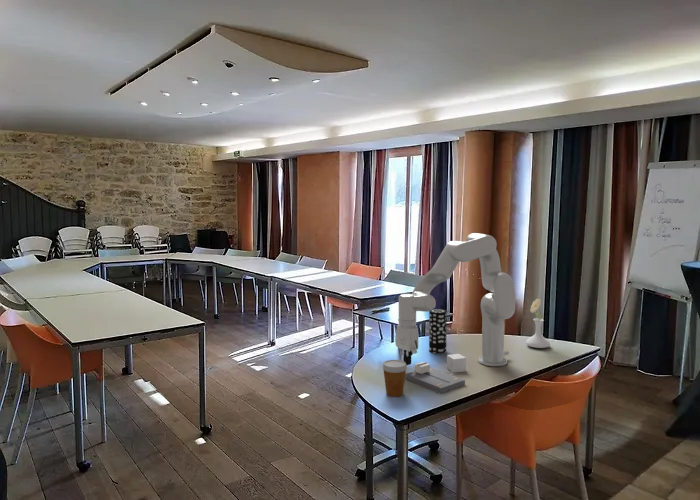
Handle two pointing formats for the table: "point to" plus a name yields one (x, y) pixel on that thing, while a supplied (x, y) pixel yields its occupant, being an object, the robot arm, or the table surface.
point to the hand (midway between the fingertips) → (407, 364)
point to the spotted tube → (437, 331)
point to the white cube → (456, 363)
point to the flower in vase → (537, 329)
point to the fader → (422, 367)
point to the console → (435, 380)
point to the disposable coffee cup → (394, 377)
